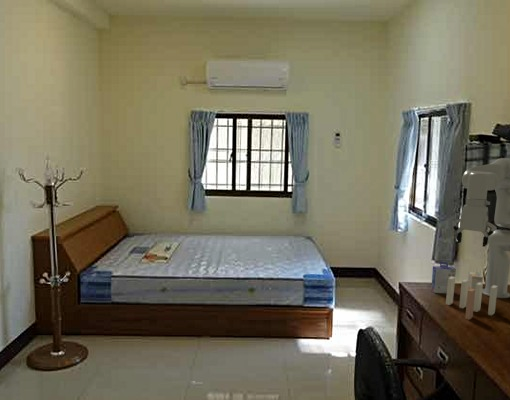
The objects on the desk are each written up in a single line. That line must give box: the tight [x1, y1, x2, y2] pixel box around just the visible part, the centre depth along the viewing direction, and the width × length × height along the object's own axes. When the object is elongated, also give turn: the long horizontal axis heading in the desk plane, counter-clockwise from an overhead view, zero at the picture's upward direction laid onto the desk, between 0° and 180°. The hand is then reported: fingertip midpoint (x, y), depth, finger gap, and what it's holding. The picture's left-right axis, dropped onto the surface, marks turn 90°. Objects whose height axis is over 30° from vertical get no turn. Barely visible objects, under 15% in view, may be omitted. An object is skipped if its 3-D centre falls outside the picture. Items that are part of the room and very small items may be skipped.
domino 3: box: [464, 289, 475, 320], centre depth 215 cm, size 4×2×12 cm, turn 140°
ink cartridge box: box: [430, 261, 457, 294], centre depth 250 cm, size 10×6×14 cm, turn 89°
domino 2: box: [458, 278, 469, 309], centre depth 229 cm, size 4×2×12 cm, turn 140°
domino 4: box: [473, 282, 484, 313], centre depth 225 cm, size 4×2×12 cm, turn 140°
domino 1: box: [445, 276, 456, 306], centre depth 233 cm, size 4×2×12 cm, turn 140°
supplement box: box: [467, 271, 484, 296], centre depth 237 cm, size 8×5×13 cm, turn 168°
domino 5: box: [487, 285, 498, 316], centre depth 221 cm, size 4×2×12 cm, turn 140°
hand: (471, 244), depth 213 cm, fingers open, 9 cm apart
